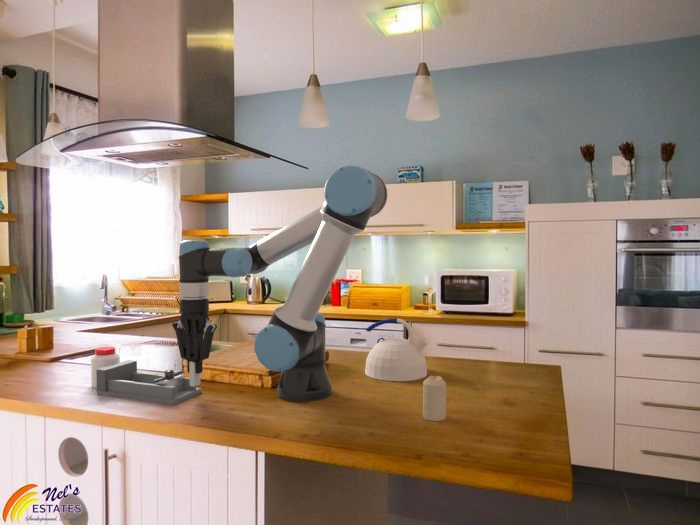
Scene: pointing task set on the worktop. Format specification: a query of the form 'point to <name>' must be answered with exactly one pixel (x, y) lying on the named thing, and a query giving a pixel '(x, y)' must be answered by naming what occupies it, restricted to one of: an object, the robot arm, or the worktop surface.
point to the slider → (172, 380)
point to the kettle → (396, 356)
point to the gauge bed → (139, 385)
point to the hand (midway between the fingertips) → (195, 384)
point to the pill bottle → (102, 361)
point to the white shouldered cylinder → (434, 399)
